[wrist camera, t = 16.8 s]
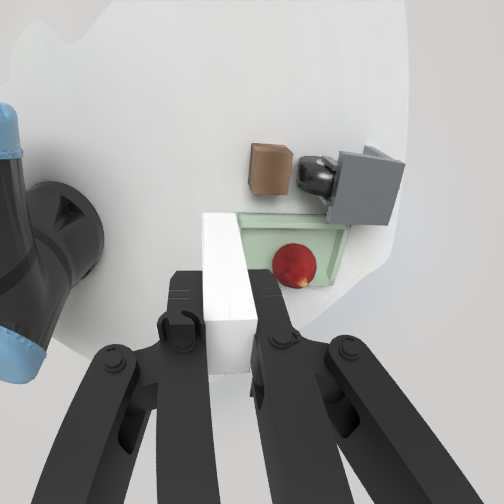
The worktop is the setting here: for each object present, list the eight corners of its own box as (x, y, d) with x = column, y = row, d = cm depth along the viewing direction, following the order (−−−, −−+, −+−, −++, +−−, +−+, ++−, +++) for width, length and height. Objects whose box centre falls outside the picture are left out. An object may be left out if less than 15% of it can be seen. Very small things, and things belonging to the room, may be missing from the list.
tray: (229, 277, 44) (230, 288, 42) (233, 212, 38) (235, 221, 36) (327, 275, 47) (333, 285, 45) (344, 215, 41) (351, 224, 39)
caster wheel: (287, 194, 38) (304, 222, 32) (296, 134, 34) (317, 150, 27) (361, 199, 40) (387, 225, 34) (374, 145, 35) (405, 164, 29)
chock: (248, 181, 36) (252, 194, 33) (251, 142, 34) (256, 151, 30) (279, 183, 37) (287, 195, 34) (284, 145, 34) (293, 153, 31)
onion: (279, 273, 44) (292, 311, 38) (259, 247, 41) (270, 284, 35) (313, 252, 43) (332, 288, 36) (296, 224, 40) (314, 259, 33)
